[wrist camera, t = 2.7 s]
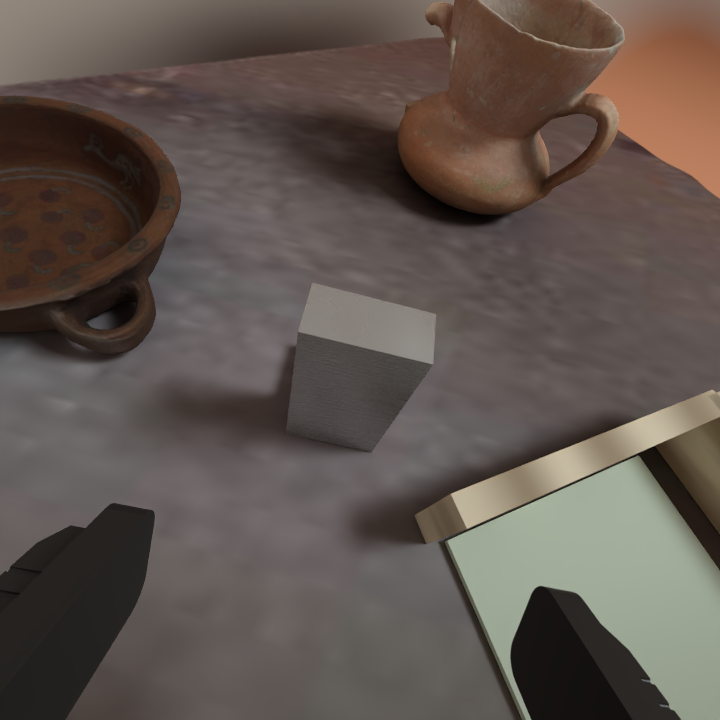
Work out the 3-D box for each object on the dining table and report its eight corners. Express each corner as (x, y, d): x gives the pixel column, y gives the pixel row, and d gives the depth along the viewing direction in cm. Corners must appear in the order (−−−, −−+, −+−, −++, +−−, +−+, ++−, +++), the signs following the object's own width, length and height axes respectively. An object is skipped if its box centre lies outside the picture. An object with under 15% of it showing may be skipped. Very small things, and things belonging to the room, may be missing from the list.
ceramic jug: (349, 160, 37) (390, -46, 25) (431, 116, 44) (493, -59, 32) (505, 273, 34) (639, 99, 22) (567, 206, 41) (692, 47, 29)
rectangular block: (371, 452, 23) (433, 364, 14) (285, 433, 22) (298, 331, 14) (383, 365, 26) (439, 252, 18) (308, 347, 26) (330, 223, 17)
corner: (652, 418, 28) (720, 386, 24) (872, 710, 21) (1024, 736, 17) (414, 515, 21) (450, 493, 17) (617, 1002, 14) (767, 1173, 10)
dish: (72, 124, 32) (44, 53, 28) (265, 279, 28) (265, 222, 24) (-220, 209, 23) (-326, 123, 19) (-3, 457, 19) (-79, 416, 15)
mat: (634, 457, 26) (638, 455, 26) (829, 737, 20) (838, 739, 19) (444, 541, 21) (447, 540, 21) (627, 961, 15) (635, 969, 14)
